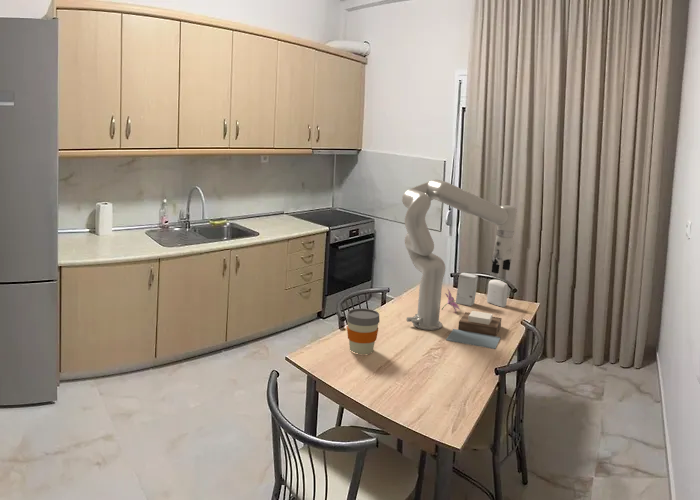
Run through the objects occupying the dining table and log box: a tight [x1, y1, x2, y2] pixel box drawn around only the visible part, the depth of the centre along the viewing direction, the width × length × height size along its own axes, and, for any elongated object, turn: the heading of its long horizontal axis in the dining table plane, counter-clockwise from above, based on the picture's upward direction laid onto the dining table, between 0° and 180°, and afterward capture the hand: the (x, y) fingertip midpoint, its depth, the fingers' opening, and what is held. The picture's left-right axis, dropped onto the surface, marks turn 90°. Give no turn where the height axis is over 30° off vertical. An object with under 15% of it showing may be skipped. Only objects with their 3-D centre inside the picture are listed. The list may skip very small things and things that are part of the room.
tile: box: [468, 310, 493, 325], centre depth 262 cm, size 8×9×2 cm
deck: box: [457, 311, 502, 336], centre depth 264 cm, size 14×16×4 cm
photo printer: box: [486, 279, 509, 308], centre depth 298 cm, size 10×4×12 cm, turn 39°
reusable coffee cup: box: [346, 308, 380, 355], centre depth 231 cm, size 13×13×15 cm
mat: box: [445, 328, 501, 350], centre depth 251 cm, size 14×20×1 cm
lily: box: [441, 288, 461, 314], centre depth 286 cm, size 12×12×10 cm
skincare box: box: [455, 272, 479, 307], centre depth 297 cm, size 8×6×15 cm
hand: (500, 271), depth 269 cm, fingers open, 9 cm apart
